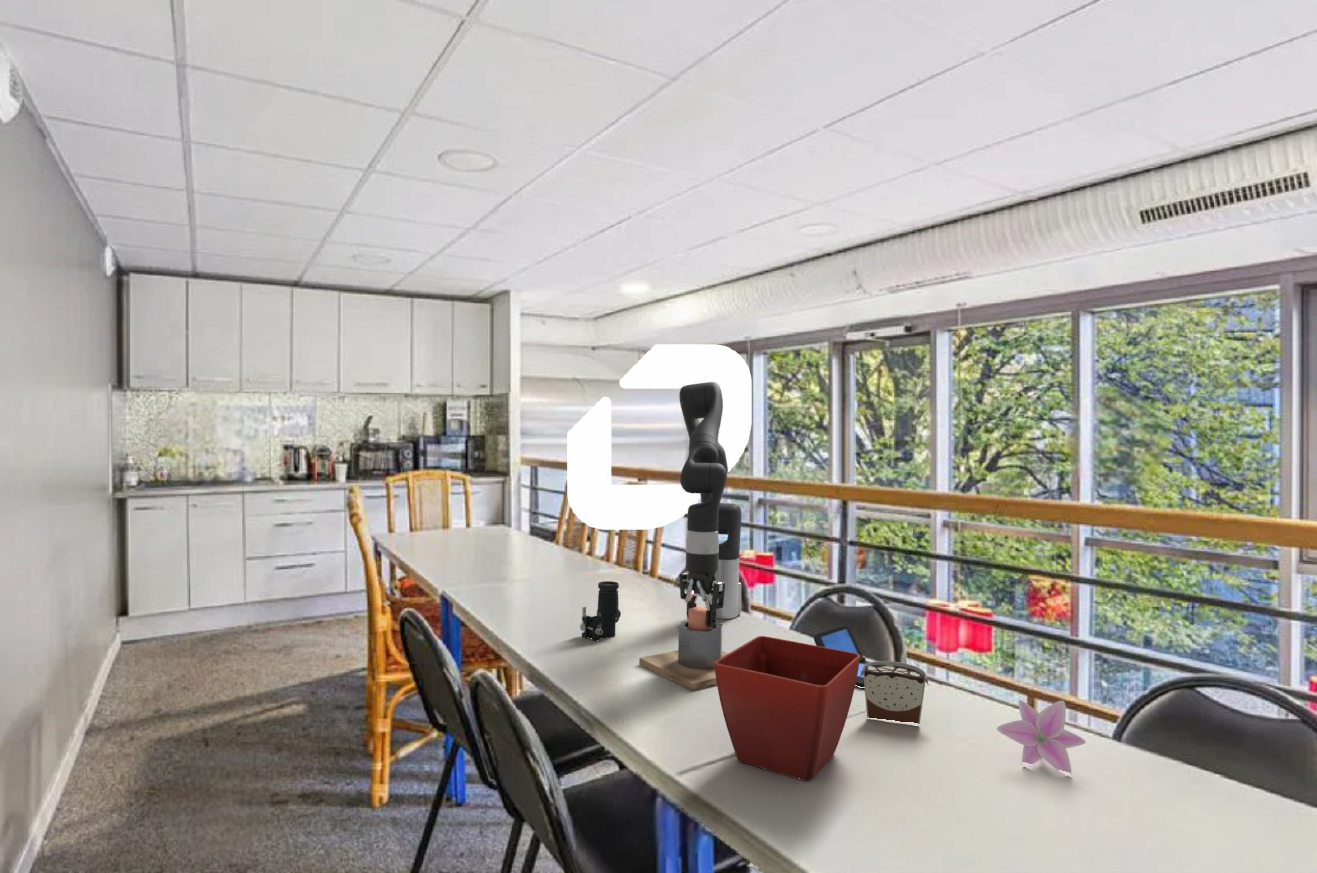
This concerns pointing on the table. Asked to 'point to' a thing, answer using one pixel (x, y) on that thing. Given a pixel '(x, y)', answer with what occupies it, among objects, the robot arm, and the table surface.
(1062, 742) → the lily
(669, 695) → the table surface
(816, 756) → the plant pot
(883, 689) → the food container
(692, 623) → the salmon pink rounded cylinder
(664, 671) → the walnut board
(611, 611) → the scope
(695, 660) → the grey octagonal cup
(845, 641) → the handheld game console
